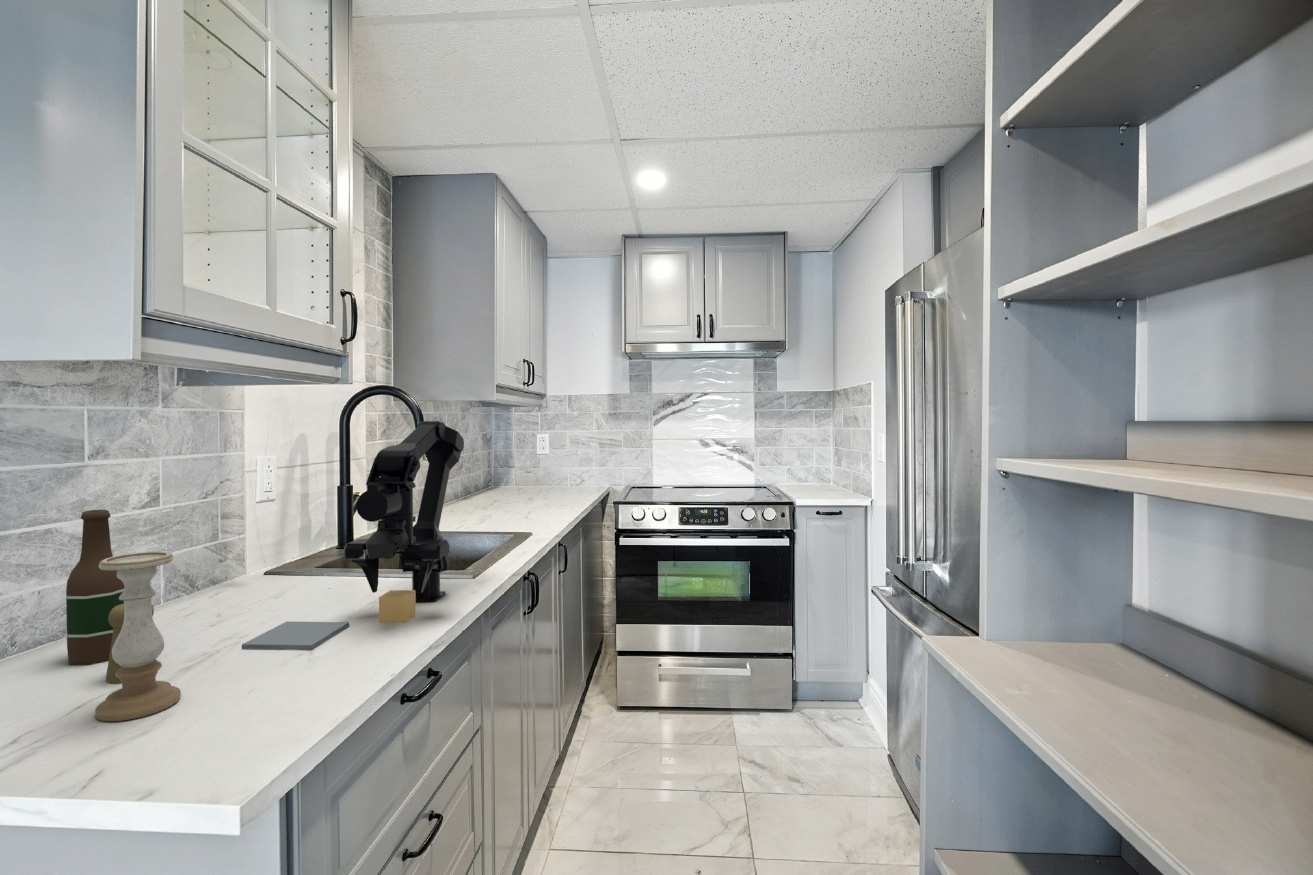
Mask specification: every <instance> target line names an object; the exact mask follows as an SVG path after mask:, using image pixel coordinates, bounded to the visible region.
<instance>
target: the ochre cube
mask: <svg viewBox="0 0 1313 875" xmlns="http://www.w3.org/2000/svg"><path fill="white" fill-rule="evenodd" d="M416 602H417V601H416V590H412V589H411V590H410V589H405V590H404V589H390V590H388V591H387V592H385V593H384V594H382V595H380V596H379V597H378V623H384V624H385V623H389V624H392V623H393V624H394V623H396V624H397V623H398V624H400V623H401V624H402V623H403V624H405V623H406V622H408V621H409V620H410V619H412V618H413V617H415V616H416V614H417V613H416V612H417V611H416V610H417V609H416V606H417V605H416Z"/></svg>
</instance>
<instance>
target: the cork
mask: <svg viewBox="0 0 1313 875" xmlns="http://www.w3.org/2000/svg"><path fill="white" fill-rule="evenodd" d="M124 608H125V607H124V604H121V605H118V606H116V607H114V608H112V610H111V611H110V613H109V616H108V621H109V624H110V625H111V626H112V627H113V628H114V629H113V636H112V642H111V649H110V655H109V661H107V662H108V663H107V670H106V676H105V683H107V684H114V685H118V684H119V685H120V684H122V682H121V681H120V679H119V678H118V677H116V676H115V673H116V671H117V670H118V669H120V667H121V665H119V664H117V663H116V662H115V661H114V659H113V658H112V648H113V645H114V643H115V640H116V639H117V637H118V635H119V633H120V631H121V629H122V626H123V622H124ZM151 610H152V618H153V616H154V611H155V608H154V606H153V605H152V604H151Z"/></svg>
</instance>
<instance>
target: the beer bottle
mask: <svg viewBox="0 0 1313 875" xmlns="http://www.w3.org/2000/svg"><path fill="white" fill-rule="evenodd" d="M109 518H111V513H110V511H109V510H108V509H89V510H85V511H82V512H81V516H80V519H81V520H82V535H81V551H80V556H79V560H78V563H77V564H76V565H75V566H74V567H73V568H72V570H71V571H70V573H69V576H68V578H67V580H66V591H65V598H66V600H65V601H66V602H65V603H66V604H65V605H66V609H65V610H66V611H65V612H66V649H67V658H68V659H67V660H68V664H69V665H70V666H88V665H93V664H94V665H95V664H98V663H99V664H100V663H105V662H109V655H110V649H111V642H112V636H113V629H114V628H113V627H112V626H111V625H110V624H109V621H108V616H109V613H110V611H111V610H112V608H114V607H116V606H118V605H121V604H124V601H122V600H119V597H120V595H121V594H122V593H123V591H124V588H125V587H124V583H123V582H122V581H121V580H120V579H118V578H117V571H107V570H102V569H100V568H99V563H100V561H101V560H103V559H106V558H109V557H113V556H114V555H113V551H112V545H111V533H110V532H111V531H110V523H109Z"/></svg>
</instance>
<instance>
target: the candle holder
mask: <svg viewBox="0 0 1313 875" xmlns="http://www.w3.org/2000/svg"><path fill="white" fill-rule="evenodd" d="M173 561H174V554H173V553H172V552H169V551H144V552H132V553H125V554H120V555H113V557H109V558H106V559H103V560H101V561H100V563H99V568H100V569H102V570H107V571H117V578H118V579H120V580H121V581H122V582H123V583H124V587H125V588H124V591H123V593H122V594H121V595H120V597H119V600H122V601H124V607H125V608H124V622H123V626H122V629H121V631H120V633H119V635H118V637H117V639H116V640H115V643H114V645H113V648H112V658H113V659H114V661H115V662H116V663H117V664H119V665H121V667H120V669H118V670H117V671H116V673H115V676H116V677H118V678H119V679H120V681H121V682H122V683H121V688H119V689H117V690H115V691H113V692H111V693H109V694H108V695H107V696H106V698H105V700H103V701H102V702H100V703H98V705H97V706H96V707H95V710H94V715H95V718H96V719H97V720H99V721H102V722H121V721H123V722H124V721H129V720H134V719H139V718H143V717H147V716H150V715H153V714H157V713H159V712H163V710H164V711H165V710H166V709H168V708H170V707H172V706H174V705H175V704H177V703H178V702H179V701H180V698H181V696H182V694H181V693H182V692H181V689H180V688H179V687H178V686H173V685H172V684H171V683H170V682H168V681H164V680H156V679H157V674H158V672H159V671H160V669H162V667H163V664H162V662H161V661H159V660H158V658H159V656H160V655H161V654H162V653H163V651H164V649H165V639H164V637H163V635H162V633H161V631H160V630H159V628H158V626H157V625H156V624H155V621H154V618H153V617H152V610H151V605H152V599H153V597H154V596H156V595H157V591H156V590H154V588H153V587H152V585H151V583H152V580H153V578H154V577H155V576H156V575H157V573H158V572H159V571H158V567H159V566H163V565H166V564H169V563H171V562H173Z"/></svg>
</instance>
